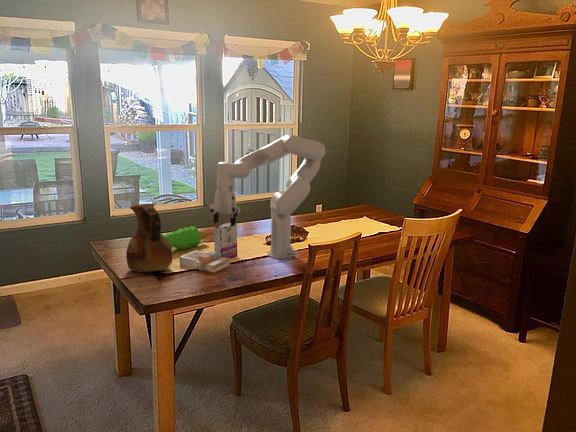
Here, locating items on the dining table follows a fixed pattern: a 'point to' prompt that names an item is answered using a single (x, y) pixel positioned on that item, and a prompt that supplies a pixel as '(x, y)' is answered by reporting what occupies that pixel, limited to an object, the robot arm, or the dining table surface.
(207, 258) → the tile
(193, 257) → the tray
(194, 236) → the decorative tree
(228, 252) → the candy bar box
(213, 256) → the tile
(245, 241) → the dining table surface
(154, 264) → the ceramic pitcher
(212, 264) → the board
